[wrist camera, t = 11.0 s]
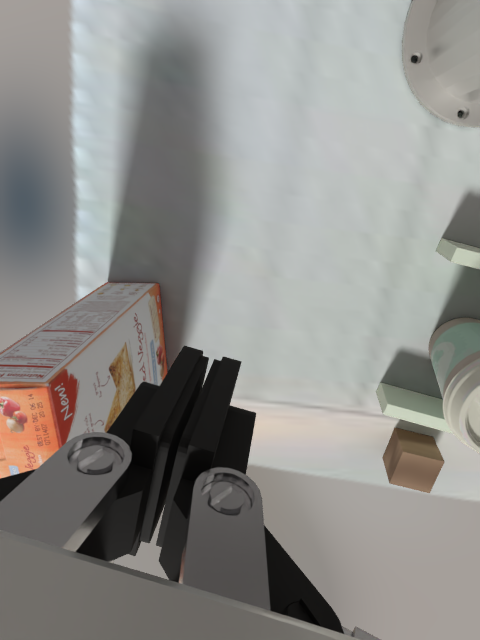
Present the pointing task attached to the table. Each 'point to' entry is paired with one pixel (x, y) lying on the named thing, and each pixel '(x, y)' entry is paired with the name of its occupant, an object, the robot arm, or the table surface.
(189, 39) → the table surface
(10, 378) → the cracker box
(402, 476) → the walnut block
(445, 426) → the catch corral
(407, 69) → the robot arm
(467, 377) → the coffee cup
